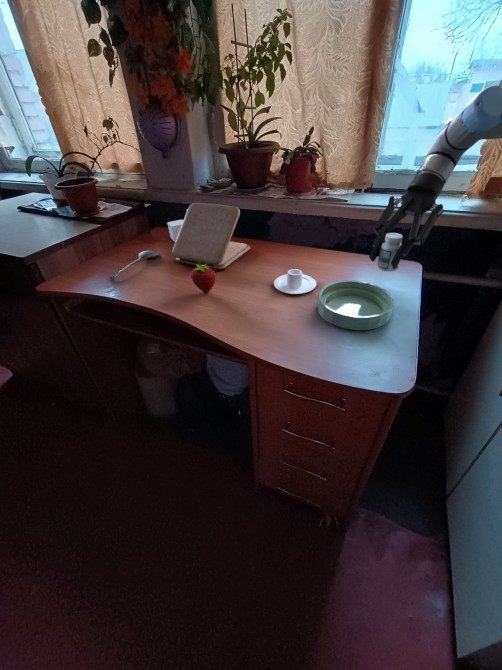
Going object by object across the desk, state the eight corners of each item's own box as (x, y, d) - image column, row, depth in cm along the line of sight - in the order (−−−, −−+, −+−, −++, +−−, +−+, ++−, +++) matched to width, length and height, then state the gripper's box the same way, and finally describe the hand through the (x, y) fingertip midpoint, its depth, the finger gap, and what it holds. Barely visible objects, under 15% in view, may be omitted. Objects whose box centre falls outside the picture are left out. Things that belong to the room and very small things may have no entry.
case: (171, 262, 106) (160, 214, 96) (207, 241, 120) (201, 197, 110) (220, 273, 97) (214, 221, 87) (253, 249, 111) (251, 202, 102)
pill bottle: (394, 263, 85) (402, 231, 80) (399, 272, 81) (408, 239, 76) (374, 263, 86) (381, 231, 81) (378, 272, 82) (386, 239, 76)
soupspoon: (164, 256, 112) (149, 255, 114) (161, 247, 110) (147, 246, 112) (119, 282, 95) (104, 280, 98) (116, 272, 94) (100, 270, 96)
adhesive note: (189, 238, 123) (186, 223, 119) (174, 242, 121) (171, 226, 117) (184, 234, 127) (181, 219, 124) (170, 237, 125) (167, 222, 122)
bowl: (400, 306, 78) (404, 292, 75) (372, 341, 68) (376, 326, 65) (337, 287, 87) (339, 274, 84) (304, 315, 77) (305, 302, 74)
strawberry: (208, 302, 84) (202, 268, 78) (189, 294, 88) (182, 261, 82) (222, 292, 88) (218, 259, 82) (203, 285, 92) (198, 253, 85)
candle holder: (293, 272, 96) (293, 258, 93) (324, 284, 88) (326, 270, 86) (265, 286, 90) (264, 272, 87) (296, 301, 82) (297, 286, 80)
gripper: (469, 195, 76) (419, 279, 77) (397, 185, 87) (355, 258, 88) (469, 175, 70) (415, 266, 71) (392, 167, 81) (346, 246, 83)
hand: (382, 262), depth 80 cm, fingers closed on pill bottle, 5 cm apart
